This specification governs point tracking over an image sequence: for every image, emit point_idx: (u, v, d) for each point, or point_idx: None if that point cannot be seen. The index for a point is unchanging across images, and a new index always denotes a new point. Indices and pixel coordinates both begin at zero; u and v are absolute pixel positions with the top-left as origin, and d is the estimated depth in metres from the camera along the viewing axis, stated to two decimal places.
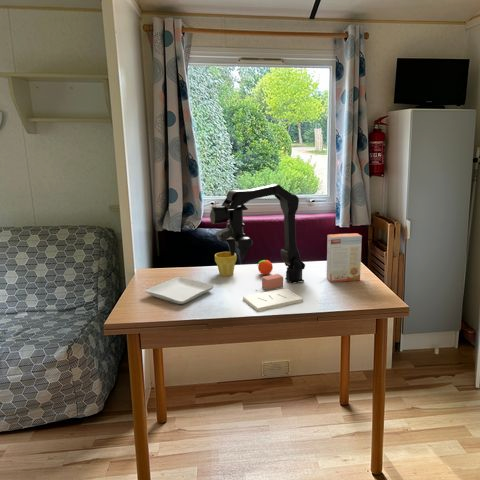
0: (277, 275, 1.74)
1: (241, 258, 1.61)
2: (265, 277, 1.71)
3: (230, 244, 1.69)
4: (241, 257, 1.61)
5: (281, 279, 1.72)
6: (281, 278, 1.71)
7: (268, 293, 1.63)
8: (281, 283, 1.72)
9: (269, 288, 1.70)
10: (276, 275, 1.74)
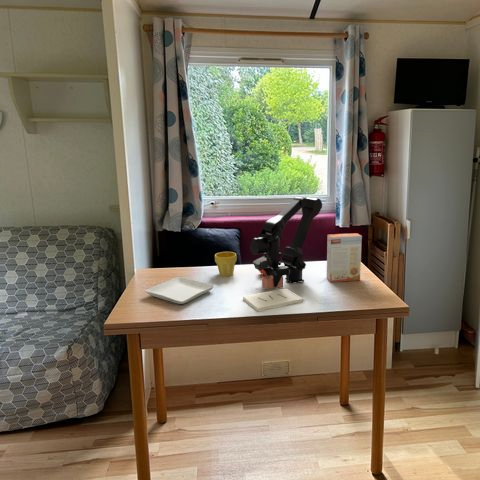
0: None
1: (275, 284, 1.70)
2: (265, 277, 1.71)
3: (268, 273, 1.74)
4: (275, 283, 1.70)
5: (281, 279, 1.71)
6: (281, 278, 1.71)
7: (268, 293, 1.63)
8: (281, 283, 1.72)
9: (269, 288, 1.70)
10: None
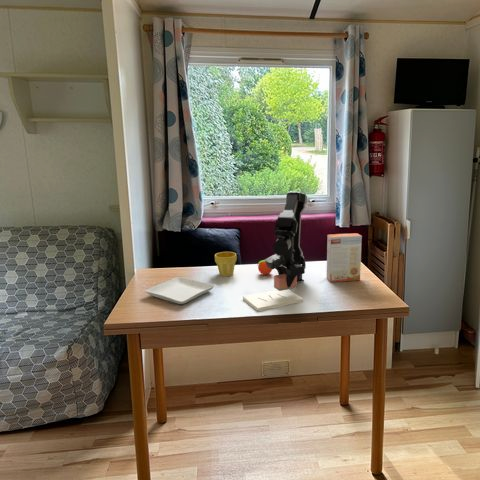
0: None
1: (289, 284, 1.57)
2: (277, 276, 1.59)
3: (280, 272, 1.61)
4: (289, 283, 1.57)
5: (295, 278, 1.59)
6: (295, 277, 1.59)
7: (268, 293, 1.63)
8: (295, 282, 1.59)
9: (282, 288, 1.57)
10: None
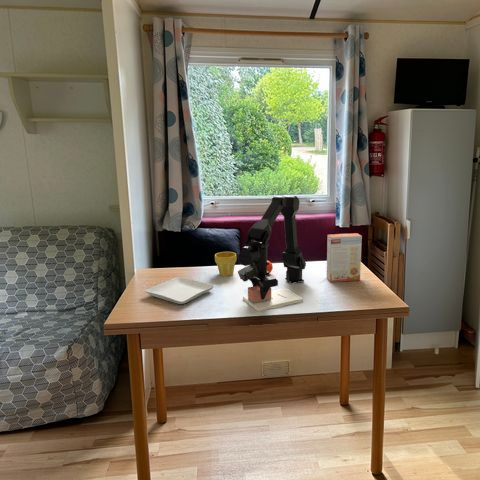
0: None
1: (262, 296, 1.53)
2: (251, 288, 1.55)
3: (255, 283, 1.57)
4: (262, 295, 1.53)
5: (269, 290, 1.55)
6: (269, 289, 1.55)
7: None
8: (269, 295, 1.55)
9: (255, 300, 1.53)
10: None
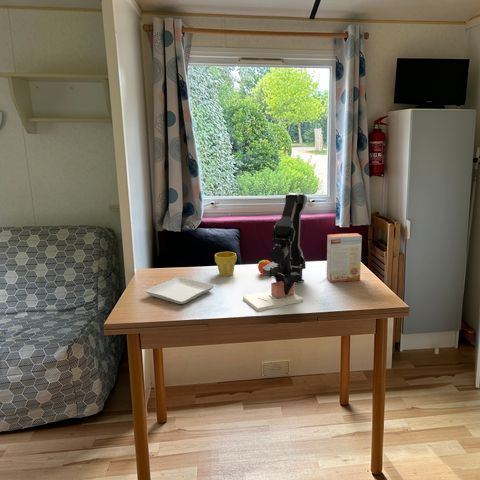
0: None
1: (286, 292, 1.58)
2: (275, 283, 1.59)
3: (278, 279, 1.62)
4: (286, 291, 1.57)
5: (292, 286, 1.59)
6: None
7: (268, 293, 1.63)
8: (292, 290, 1.60)
9: (279, 295, 1.57)
10: None
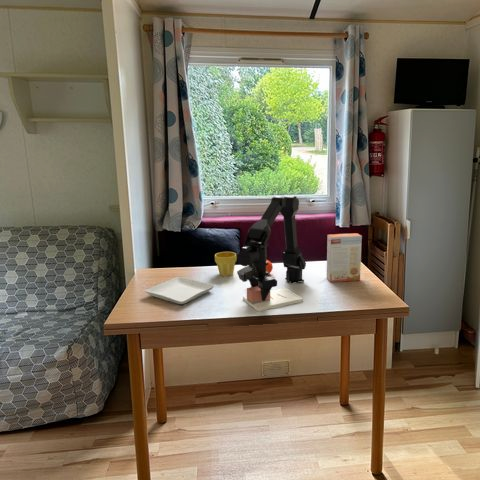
0: None
1: (263, 298, 1.52)
2: (250, 289, 1.55)
3: (252, 282, 1.58)
4: (263, 297, 1.52)
5: None
6: None
7: None
8: (268, 295, 1.55)
9: (254, 301, 1.53)
10: None
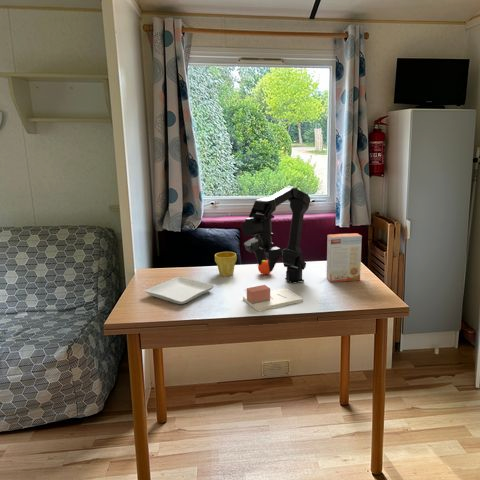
0: (263, 286, 1.57)
1: (270, 268, 1.58)
2: (250, 289, 1.55)
3: (257, 253, 1.66)
4: (271, 267, 1.58)
5: (268, 291, 1.55)
6: (268, 290, 1.55)
7: None
8: (268, 295, 1.55)
9: (254, 301, 1.53)
10: (262, 286, 1.57)
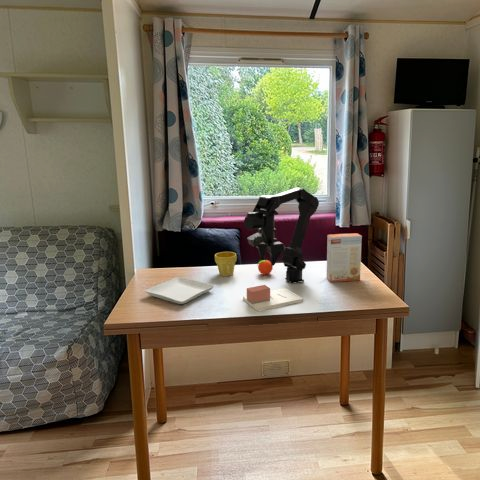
0: (263, 286, 1.57)
1: (273, 263, 1.63)
2: (250, 289, 1.55)
3: (260, 249, 1.71)
4: (273, 262, 1.63)
5: (268, 291, 1.55)
6: (268, 290, 1.55)
7: None
8: (268, 295, 1.55)
9: (254, 301, 1.53)
10: (262, 286, 1.57)
